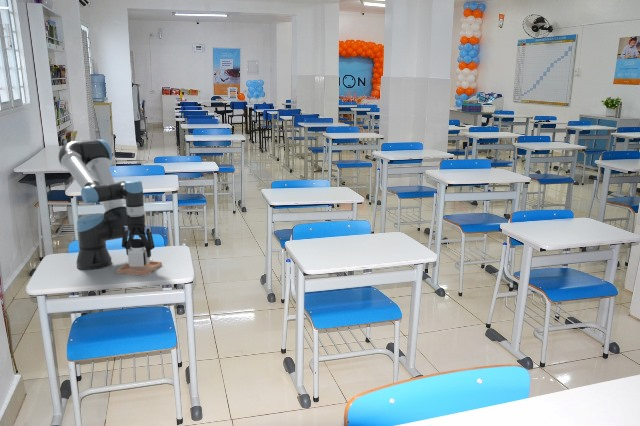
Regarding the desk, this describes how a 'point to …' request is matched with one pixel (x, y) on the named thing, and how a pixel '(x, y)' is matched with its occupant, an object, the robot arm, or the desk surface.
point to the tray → (139, 268)
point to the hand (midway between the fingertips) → (139, 262)
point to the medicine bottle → (137, 253)
